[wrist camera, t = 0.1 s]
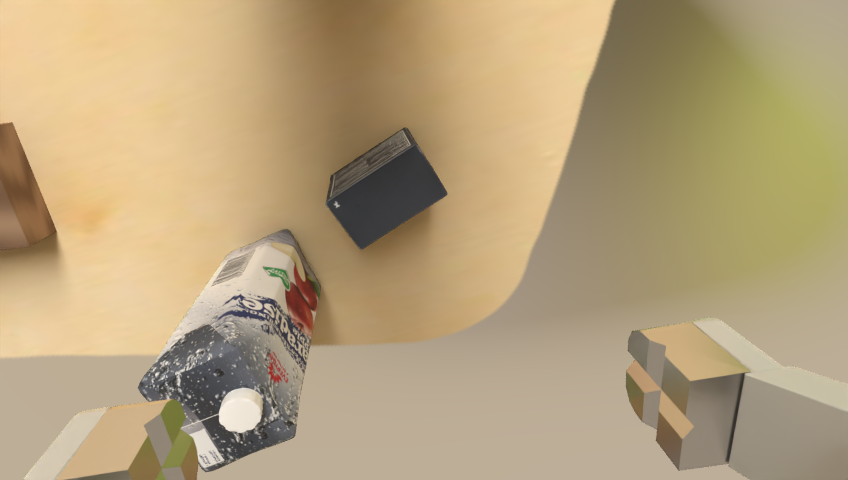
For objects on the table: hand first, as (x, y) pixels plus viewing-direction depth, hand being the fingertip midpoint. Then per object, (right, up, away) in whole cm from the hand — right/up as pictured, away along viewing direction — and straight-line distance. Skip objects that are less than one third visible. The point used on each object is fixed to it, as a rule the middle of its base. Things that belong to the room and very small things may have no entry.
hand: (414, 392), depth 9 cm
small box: (-5, +10, +47) cm, 49 cm away
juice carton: (-18, -1, +50) cm, 53 cm away
